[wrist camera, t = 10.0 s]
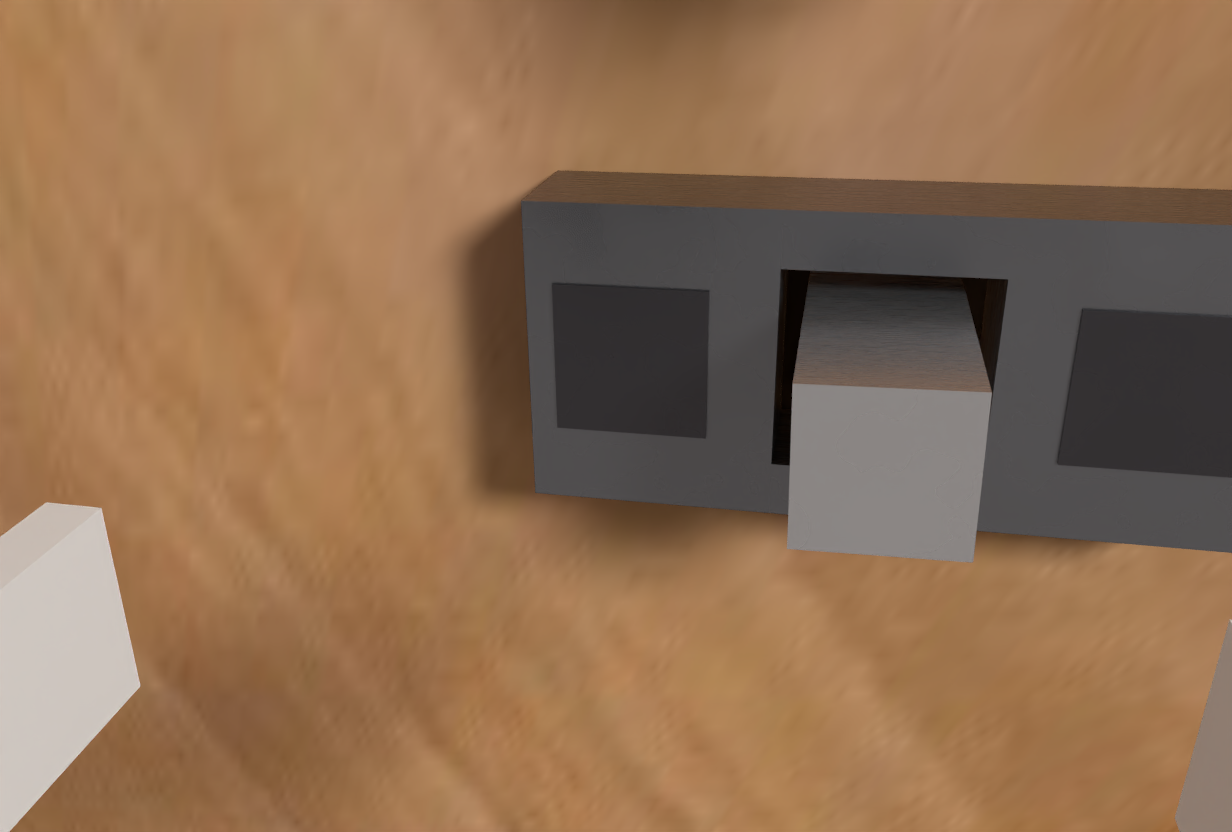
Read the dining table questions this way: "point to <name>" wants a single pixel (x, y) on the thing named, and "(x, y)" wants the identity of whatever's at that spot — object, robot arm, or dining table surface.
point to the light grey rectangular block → (887, 418)
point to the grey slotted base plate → (887, 244)
